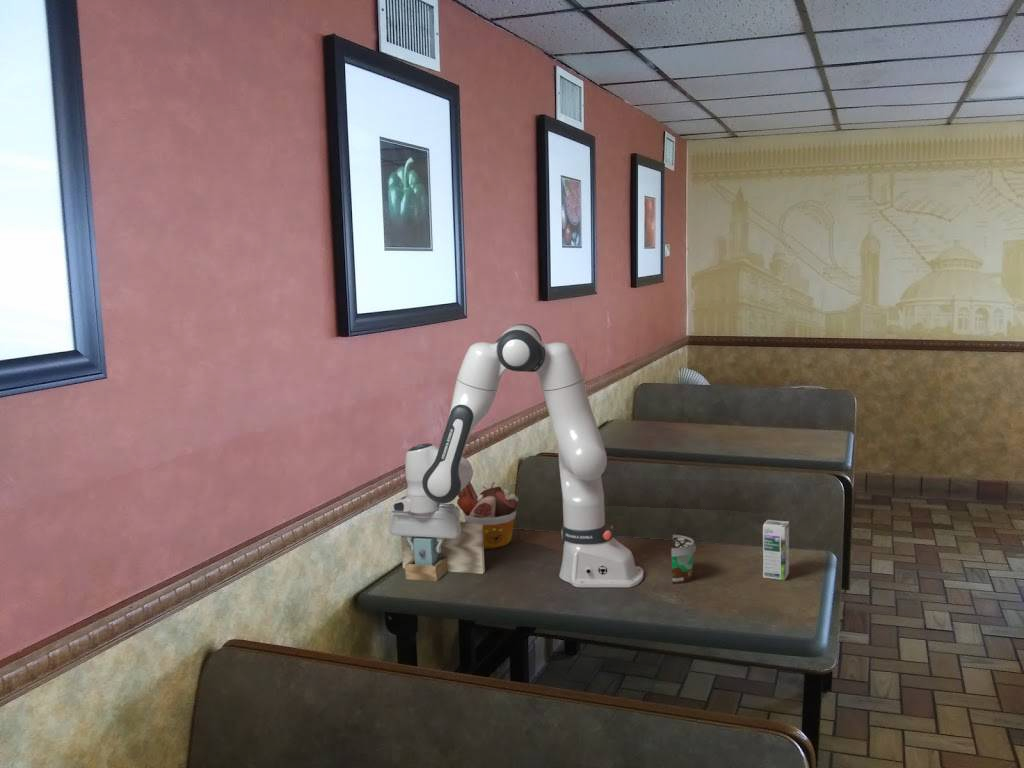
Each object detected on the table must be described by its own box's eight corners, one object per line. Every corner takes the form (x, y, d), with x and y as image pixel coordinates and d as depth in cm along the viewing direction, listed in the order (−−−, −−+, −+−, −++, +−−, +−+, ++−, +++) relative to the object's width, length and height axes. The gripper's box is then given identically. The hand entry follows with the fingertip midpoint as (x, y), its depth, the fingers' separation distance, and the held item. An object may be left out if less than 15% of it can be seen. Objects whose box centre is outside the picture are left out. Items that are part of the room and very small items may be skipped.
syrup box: (762, 578, 244) (762, 524, 242) (767, 571, 249) (767, 518, 247) (784, 581, 241) (784, 526, 239) (789, 573, 246) (789, 520, 244)
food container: (696, 586, 240) (695, 549, 238) (672, 586, 241) (671, 548, 240) (696, 570, 252) (696, 534, 250) (673, 569, 253) (672, 534, 252)
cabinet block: (439, 569, 259) (437, 534, 258) (431, 576, 254) (429, 541, 252) (422, 568, 261) (420, 534, 259) (414, 575, 255) (412, 540, 254)
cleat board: (484, 571, 258) (482, 522, 256) (473, 584, 249) (470, 533, 247) (405, 566, 265) (402, 518, 263) (390, 578, 256) (387, 528, 254)
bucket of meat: (531, 538, 286) (528, 475, 283) (506, 555, 271) (503, 488, 268) (474, 532, 295) (471, 470, 292) (447, 547, 280) (443, 483, 277)
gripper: (463, 501, 254) (465, 550, 256) (394, 498, 261) (397, 546, 263) (454, 507, 249) (457, 557, 251) (384, 504, 255) (388, 553, 257)
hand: (426, 551), depth 257 cm, fingers open, 5 cm apart
